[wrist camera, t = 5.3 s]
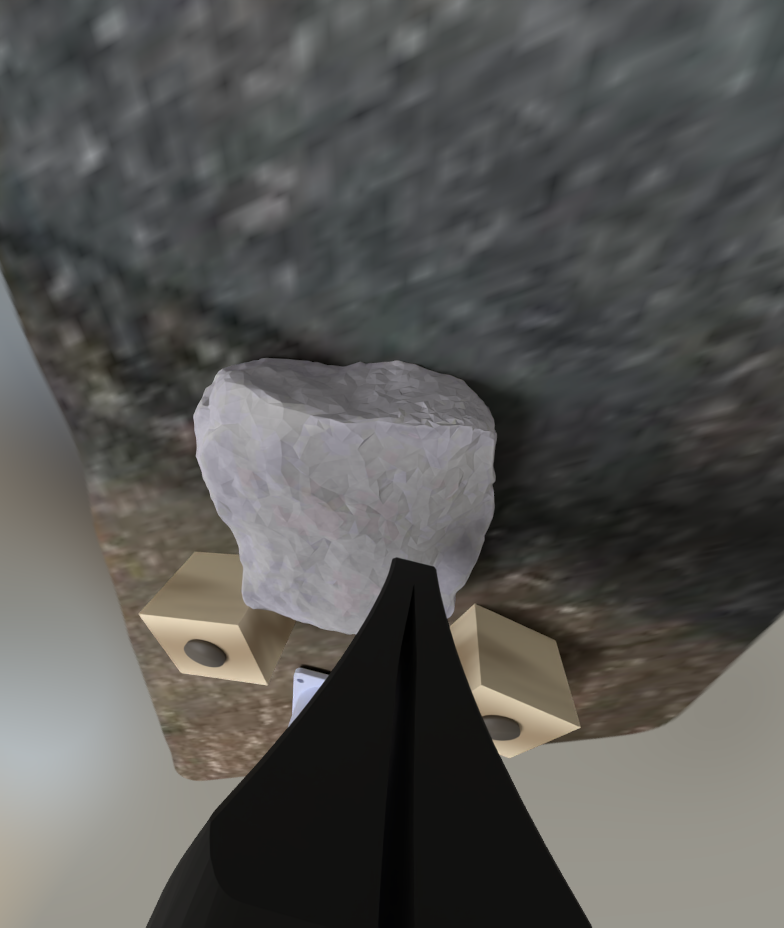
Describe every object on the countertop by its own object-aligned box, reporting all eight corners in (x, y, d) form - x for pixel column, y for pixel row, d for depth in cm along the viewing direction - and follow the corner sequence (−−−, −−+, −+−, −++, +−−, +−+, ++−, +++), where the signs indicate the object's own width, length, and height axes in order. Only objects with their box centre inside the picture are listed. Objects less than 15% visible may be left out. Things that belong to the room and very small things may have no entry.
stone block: (489, 352, 12) (219, 344, 12) (546, 400, 8) (138, 392, 8) (447, 561, 19) (272, 563, 18) (467, 645, 15) (243, 652, 14)
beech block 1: (298, 614, 20) (265, 689, 16) (225, 606, 21) (178, 676, 17) (279, 555, 17) (235, 629, 14) (196, 549, 18) (134, 617, 15)
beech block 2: (499, 675, 20) (510, 763, 16) (428, 644, 19) (423, 728, 16) (555, 638, 17) (582, 733, 14) (474, 601, 17) (481, 690, 13)
